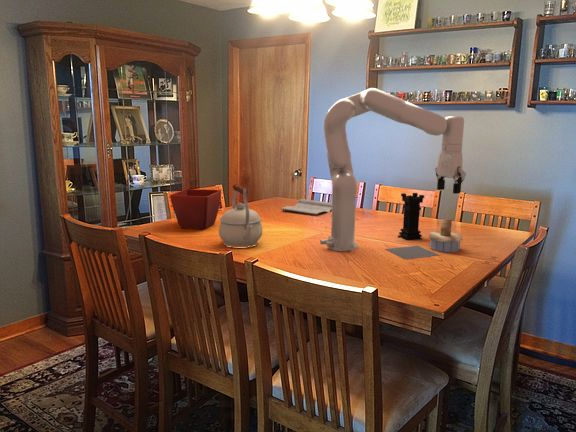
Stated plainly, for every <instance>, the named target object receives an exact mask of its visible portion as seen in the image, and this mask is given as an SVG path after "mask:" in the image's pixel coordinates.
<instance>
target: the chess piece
mask: <svg viewBox="0 0 576 432" xmlns="http://www.w3.org/2000/svg"><path fill="white" fill-rule="evenodd" d="M400 196H401V200H402V202H404V205H403V206H402V209H403V221H402V222H403V224H402V225H403V226H402V228H400V230H399V232H398V235H397V238H399V239H400V238H401V239H402V240H405V241H414V240H415V241H418V240H419V241H420V240H423V238H422V237H423V235H422V234H421V233H422V231H420V230H419V224H420V210H422V208H421V204H422V203H423V202H424V199H425V195H424V194H418V192H412V195H411V194H410V195H407V193H406V192H405V193H404V192H402V193H401V194H400Z"/></svg>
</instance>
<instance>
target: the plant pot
mask: <svg viewBox="0 0 576 432" xmlns="http://www.w3.org/2000/svg"><path fill="white" fill-rule="evenodd" d="M221 196H222V190H221V189H199V188H197V189H195V188H185V189H182V190H180V191H176V192H174V193H172V194H171V193H170V195H169V198H170V202H171V205H172V210H173V213H174V215H175V219H176V220H177V222H178V224H179V226H180V228H181V229H186V228H192V230H206V229H208V228H209V227H212V226H213V225H215V224H216V221H217V216H218V213H219V209H220V203H221V199H222V198H221Z"/></svg>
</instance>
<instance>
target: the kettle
mask: <svg viewBox="0 0 576 432" xmlns="http://www.w3.org/2000/svg"><path fill="white" fill-rule="evenodd" d="M232 189H233V197H232V202H231V205H232V206H231V207H232V208H231V209H229V210H226V211H225V212H224V213H222V215H221V217H220V218H219V222H220V223H219V228H218V236H219V238H220V239H221V240H222V241H223V245H224V246H225V245H226V246H225V247H227V246H231V247H248V246H253V245H256V244H257V243H258V241H259V240H260V239H261V238H262V237H263V236H262V235H263V232H264V231H263V226H262V223H261V222H262V220H263V219H262V218H261V217H260V216H259V213H258V212H257V211H255V210H253V209H251V208H249V204H248V198H247V194H248V193H249V191H248V189H247V188H246V187H243V186H241V185H239V184H238V183H234V184H233V185H232ZM238 193H240V194H241V195H242V196H243V197H242V198H243V199H242V200H243V203H242V202H237V204H236V200H237V197H238ZM257 245H258V244H257ZM257 245H256V246H257Z"/></svg>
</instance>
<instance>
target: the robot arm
mask: <svg viewBox="0 0 576 432" xmlns="http://www.w3.org/2000/svg"><path fill="white" fill-rule="evenodd" d="M370 111H371V112H373V113H375V114H378V115H381V116H382V117H385V118H388V119H390V120H392V121H394V122H396V123H399V124H404V125H408V126H412V127H414V128H416V129H418V130H421V131H423V132H424V133H425V134H427V135H430V136H435V137H436V136H437V137H438V136H441V135H442V141H441V150H440V153H439V156H438V161H437V166H436V167H435V168H434V170H435V176H436V180H437V185H436V190H437V191H443V190H445V188H446V187H445V186H446V179H445V178H448V179H453V182H454V183H453V185H452V186H453V187H452V193H453V194H454V195H455V194H461V191H462V190H461V189H462V184H463V182H464V180H465V178H466V175H467V173H466V171H465V170H464V169H463V166H464V165H463V161H464V159H463V152H462V151H463V141H464V140H463V139H464V125H465V119H464V117H463V116H458V115H449V116H448V115H447V116H442V115H440V114H438V113H436V112H432V111H431V110H428V109H426V108H423V107H421V106H419V105H416V104H413V103H411V102H409V101H407V100H405V99H404V98H403V99H402V98H400V97H397V96H395V95H392V94H391V93H389V92H386V91H383V90H381V89H379V88H375V87H370V88H369V87H368V88H367V89H364V90H363V91H360V92H358V93H356V94H353V95H350V96H348V97H344V98H340V99H338V100H337V101H336V102H335V103H334V104H333V105H332V106H330V108H329V109H328V111H327V113H326V114H325V116H324V121H323V133H324V139H325V145H326V151H327V152H326V157H327V163H328V168H329V174H330V179H331V187H332V188H331V189H332V190H331V195H332V196H331V203H332V209H331V224H330V225H331V233H330V236H328V238H327V239H320V241H319V244H320V245H326V248H327V249H329V250H331V251H335V252H352V251H355V250H357V249H358V248H359V245H358V244H357V243H356V242H355V232H356V229H355V228H356V226H355V225H356V203H357V201H356V199H357V188H358V186H357V179H356V177H355V175H354V169H353V164H352V155H351V150H350V147H349V143H348V135H347V130H346V126H347V122H348V121H349V120H351V119H353V118H355V117H357V116H360V115H363V114H366V113H368V112H370Z"/></svg>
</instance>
